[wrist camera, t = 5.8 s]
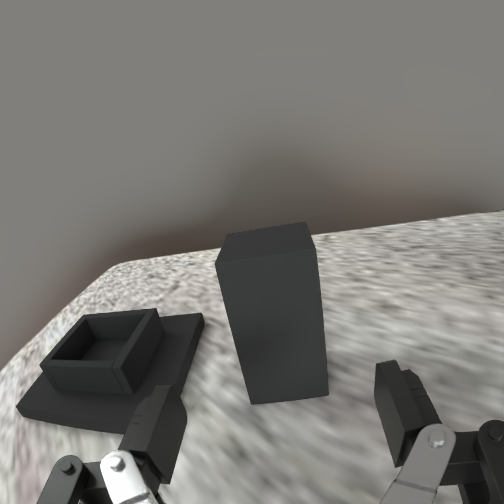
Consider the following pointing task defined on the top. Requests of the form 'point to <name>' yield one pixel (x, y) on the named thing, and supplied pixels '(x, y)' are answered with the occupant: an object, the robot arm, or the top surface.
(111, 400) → the base pad
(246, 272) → the pad block
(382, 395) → the robot arm
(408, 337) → the top surface
